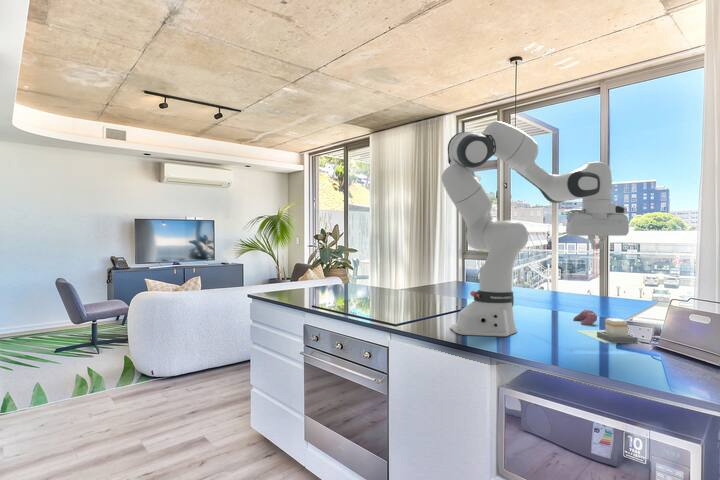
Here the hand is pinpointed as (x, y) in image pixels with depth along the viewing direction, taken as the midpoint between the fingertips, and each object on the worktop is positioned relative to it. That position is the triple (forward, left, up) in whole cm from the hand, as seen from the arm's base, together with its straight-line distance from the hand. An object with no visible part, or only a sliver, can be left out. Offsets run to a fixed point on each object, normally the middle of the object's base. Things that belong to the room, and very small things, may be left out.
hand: (596, 249), depth 141 cm
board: (-3, -9, -29) cm, 31 cm away
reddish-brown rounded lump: (+3, +13, -29) cm, 32 cm away
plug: (-2, -13, -28) cm, 31 cm away
